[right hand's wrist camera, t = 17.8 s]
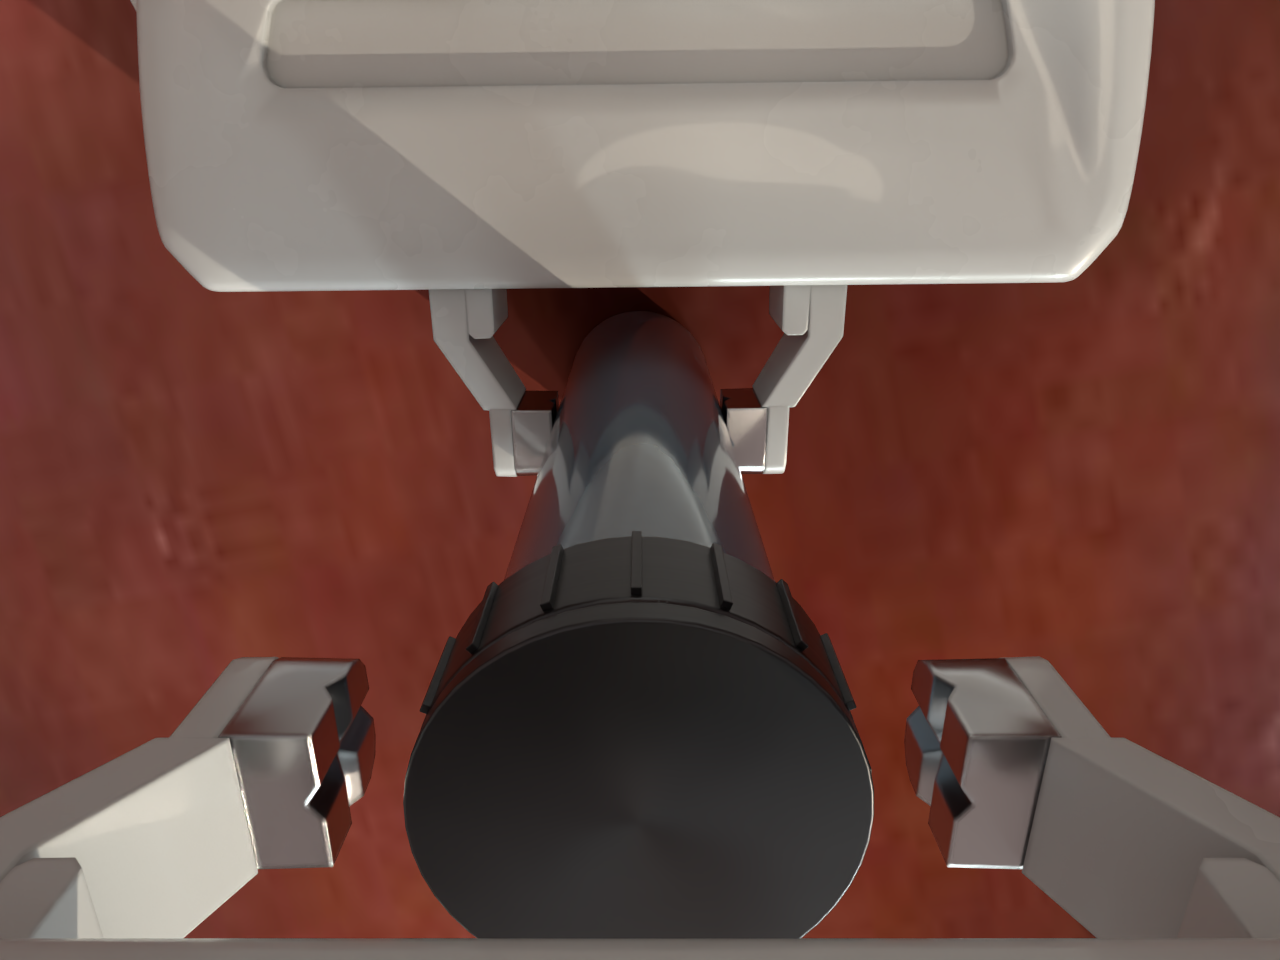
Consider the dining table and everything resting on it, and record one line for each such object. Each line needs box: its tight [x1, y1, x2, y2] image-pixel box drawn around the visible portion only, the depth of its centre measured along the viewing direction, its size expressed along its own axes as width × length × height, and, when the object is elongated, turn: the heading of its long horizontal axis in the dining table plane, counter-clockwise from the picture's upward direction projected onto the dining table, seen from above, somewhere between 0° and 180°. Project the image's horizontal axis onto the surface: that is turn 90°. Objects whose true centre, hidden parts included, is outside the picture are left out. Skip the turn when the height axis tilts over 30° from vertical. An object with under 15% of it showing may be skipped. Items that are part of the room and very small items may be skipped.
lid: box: [403, 531, 874, 939], centre depth 10 cm, size 5×5×2 cm
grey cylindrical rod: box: [504, 311, 775, 581], centre depth 18 cm, size 4×4×18 cm
